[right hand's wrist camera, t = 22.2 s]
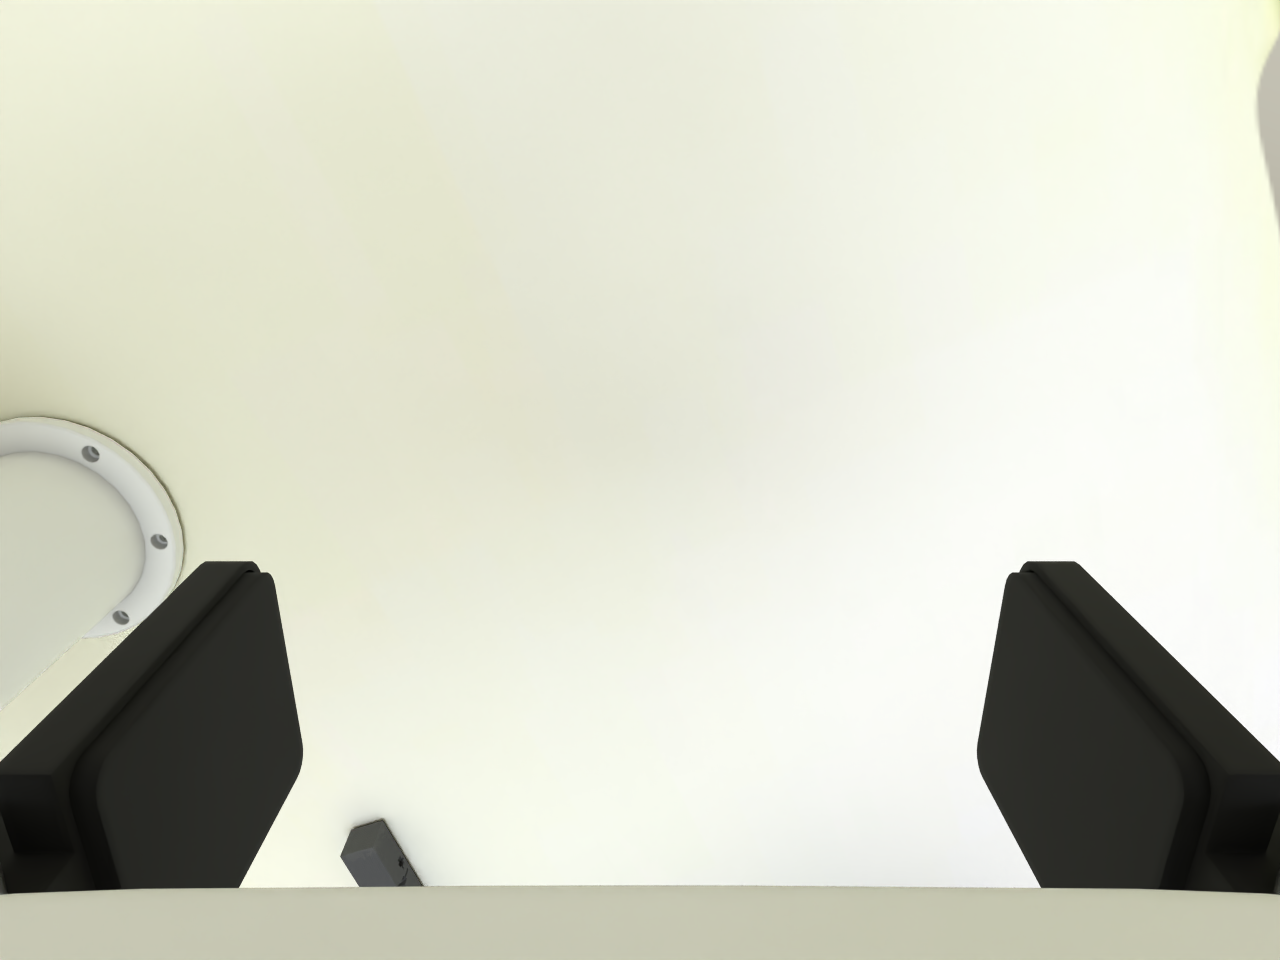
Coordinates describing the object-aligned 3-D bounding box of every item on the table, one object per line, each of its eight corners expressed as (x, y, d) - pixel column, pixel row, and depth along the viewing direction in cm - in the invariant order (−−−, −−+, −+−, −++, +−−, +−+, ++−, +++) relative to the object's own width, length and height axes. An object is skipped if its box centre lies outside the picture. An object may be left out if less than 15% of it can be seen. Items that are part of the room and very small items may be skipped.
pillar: (372, 846, 52) (504, 1062, 59) (382, 820, 54) (509, 1031, 61) (340, 856, 53) (475, 1069, 60) (351, 829, 55) (480, 1038, 62)
